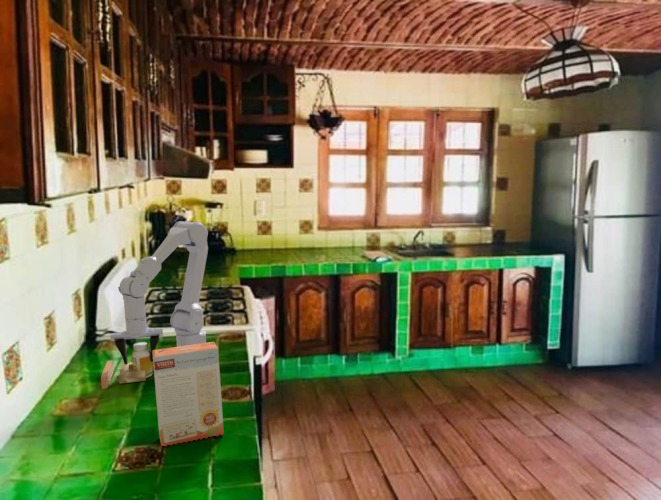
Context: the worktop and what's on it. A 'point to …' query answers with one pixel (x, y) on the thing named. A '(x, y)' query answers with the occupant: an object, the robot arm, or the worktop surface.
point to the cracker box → (188, 393)
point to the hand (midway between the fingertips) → (139, 362)
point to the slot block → (130, 374)
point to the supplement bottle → (142, 358)
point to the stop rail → (107, 374)
